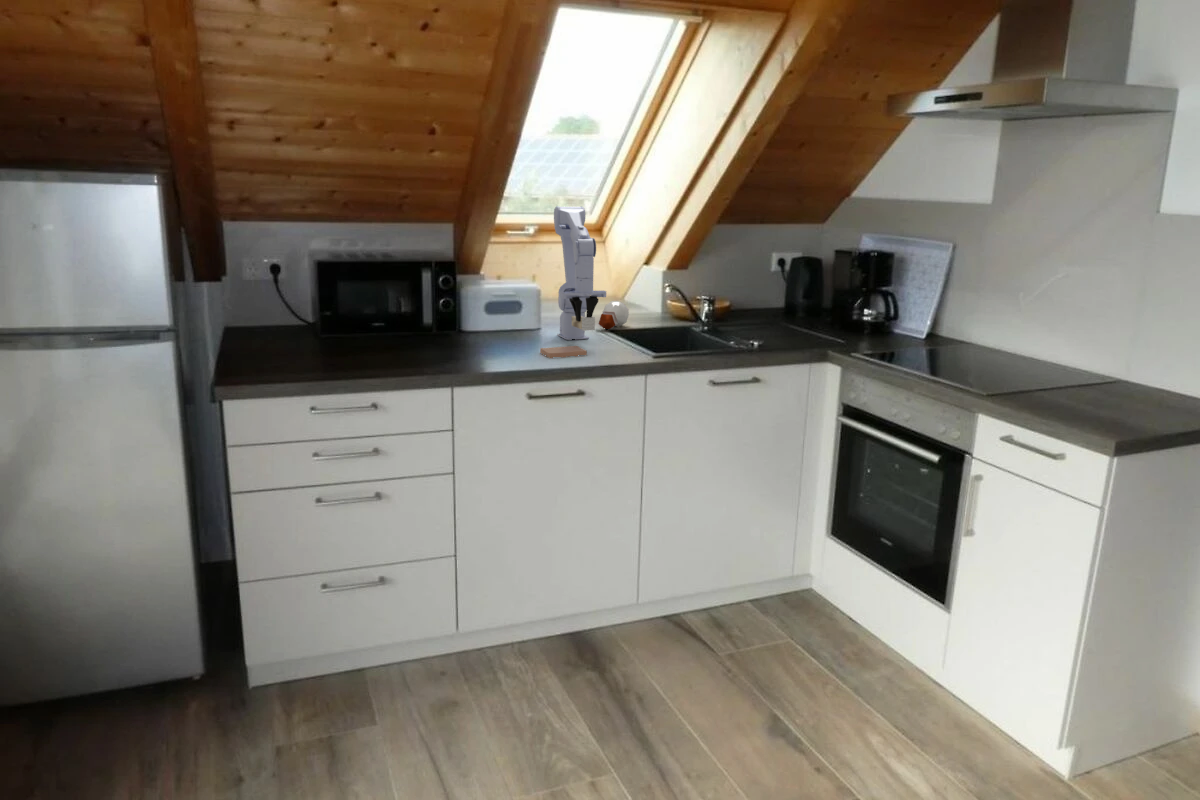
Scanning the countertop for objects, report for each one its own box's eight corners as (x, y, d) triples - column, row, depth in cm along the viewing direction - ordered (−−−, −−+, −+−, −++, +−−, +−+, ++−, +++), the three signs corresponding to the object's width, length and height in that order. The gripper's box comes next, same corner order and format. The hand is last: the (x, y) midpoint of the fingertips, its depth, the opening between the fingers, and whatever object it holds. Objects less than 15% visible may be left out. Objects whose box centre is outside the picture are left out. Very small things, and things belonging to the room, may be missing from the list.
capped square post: (570, 325, 283) (570, 313, 282) (581, 324, 285) (581, 312, 284) (582, 330, 274) (582, 317, 273) (594, 329, 275) (594, 317, 274)
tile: (540, 348, 268) (549, 353, 261) (576, 345, 273) (586, 350, 266) (540, 354, 269) (549, 360, 262) (576, 352, 273) (586, 357, 266)
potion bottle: (623, 328, 322) (610, 339, 308) (602, 311, 322) (589, 322, 309) (637, 309, 317) (625, 320, 304) (616, 292, 318) (603, 302, 304)
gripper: (567, 279, 268) (566, 323, 271) (610, 278, 274) (609, 321, 277) (559, 277, 274) (558, 320, 278) (601, 275, 280) (600, 318, 283)
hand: (583, 320), depth 278 cm, fingers closed on capped square post, 3 cm apart
